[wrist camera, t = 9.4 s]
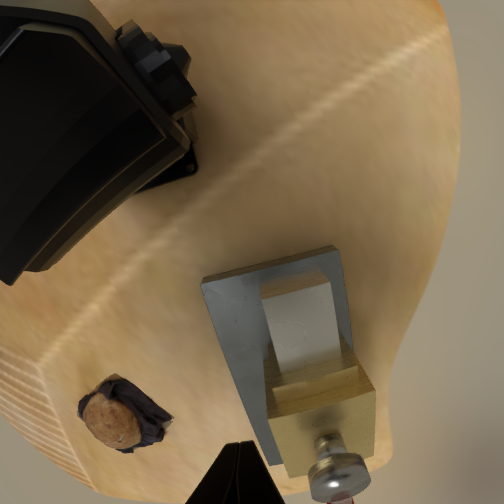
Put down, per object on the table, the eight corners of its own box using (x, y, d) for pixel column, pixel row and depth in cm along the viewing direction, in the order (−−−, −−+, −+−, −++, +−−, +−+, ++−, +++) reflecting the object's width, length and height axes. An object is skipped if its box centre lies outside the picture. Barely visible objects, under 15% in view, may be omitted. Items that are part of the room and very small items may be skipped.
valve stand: (268, 455, 24) (273, 529, 14) (203, 277, 19) (168, 348, 10) (354, 434, 23) (380, 503, 14) (332, 245, 19) (396, 292, 10)
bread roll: (132, 450, 25) (123, 473, 21) (73, 406, 23) (59, 426, 20) (185, 417, 23) (179, 446, 19) (113, 362, 22) (96, 387, 18)
